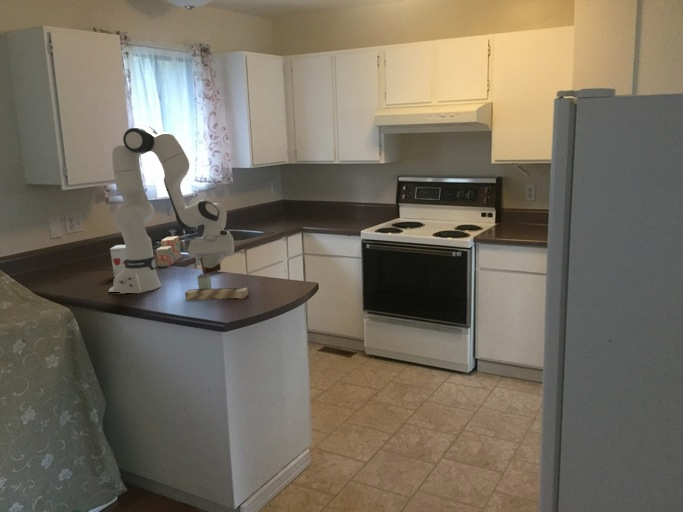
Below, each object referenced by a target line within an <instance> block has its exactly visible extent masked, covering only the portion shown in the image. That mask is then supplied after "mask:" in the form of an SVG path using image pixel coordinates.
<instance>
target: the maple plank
mask: <svg viewBox="0 0 683 512" xmlns="http://www.w3.org/2000/svg"><path fill="white" fill-rule="evenodd" d="M184 295H185V298H184V299H185V301H188V300H189V301H192V300H195V299H199V300H226V299H225V298H238V299H245V298H246V297H247V296H248V295H249V291H248V287H230V288H229V287H228V288H227V287H225V288H212V289H199V288H193V289H191V288H190V289H188V290H186V291H185V292H184ZM223 298H224V299H223ZM195 301H196V300H195Z"/></svg>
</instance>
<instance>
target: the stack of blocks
mask: <svg viewBox="0 0 683 512" xmlns="http://www.w3.org/2000/svg"><path fill="white" fill-rule="evenodd" d="M160 244H161V246H160V247H158V248H156V252H155V253H156V261H157V267H158V266H161V267H170V266H172V265H173V264H174V263H176V262H177V261H178V260H180V259H181V258H182V252H181V243H180V236H179V235H176V236H175V235H173V236H172V235H171V236H167V237H165V238H163V239H161V241H160Z"/></svg>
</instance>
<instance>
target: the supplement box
mask: <svg viewBox="0 0 683 512" xmlns="http://www.w3.org/2000/svg"><path fill="white" fill-rule="evenodd" d="M109 251H110V256H111V264H112V270H113V271H112V272H113V278H114V277H115V276H116V275H117V274H118V273H119V272H120V271H121V270H123V269H124V268H125V264H123V261H125V260H126V259H127V253H126V247H125V244H117V245H116V244H115V245H114V246H113V247H111V248H109Z"/></svg>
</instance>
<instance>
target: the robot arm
mask: <svg viewBox="0 0 683 512" xmlns="http://www.w3.org/2000/svg"><path fill="white" fill-rule="evenodd" d="M122 140H123V141H122V142H123V143H120V144H118V145H116V146H114V147H113V149H112V159H111V160H112V169H113V176H114V182H115V188H116V190H117V192H118V193H119V194H120V196H121V198H122V200H123V202H124V203H123V204H121V205H120V206H119V207H118V208H117V209H115V210H114V212H113V215H112V220H113V223H114V225H115V226H116V227H117V228H118V230H119V231H120V233H121V236H122V239H123V242H124V245H125V247H126V253H127V259H126V260H125V261H123V264H125V268H124V269H123V270H121V271H120V272H119V273H118V274H117V275H116V276H115V278H114V277H113V283H112V285H113V286H111V287H110V288H109V289H108V293H109V292H120V293H119V294H125V293H134V294H135V293H137V294H140V293H145V292H149V291H153V290H157V289H160V288H161V287H162V283H161V282H160V279H159V276H158V273H157V269H156V268H157V267H156V266H157V265H156V259H155V255H154V252H153V251H154V250H153V245H152V244H153V243H152V239H151V237H150V236H149V235H148V233H147V230H146V228H145V224H147V223H149V222H150V221H151V220H152V219H153V218H154V215H155V207H154V206H153V204H152V203H151V202H150V200H149V198H148V195H147V192H146V190H145V186H144V182H143V176H142V171H141V165H140V157H141V155H144V154H146V153H149V152H152V153H154V154H155V156H157V159H158V161H159V163H160V165H161V167H162V170H163V174H164V176H163V183H164V186H165V189H166V192H167V195H168V197H169V200H170V203H171V206H172V208H173V211H174V213H175V219H176V222H177V224H178V225H179V227H180V228H181V229H183V230H185V231H192V230H194V229H196V228H197V227H198V226H201V225H203V226H204V229H203V234H202V237H200V236H199V237H194V238H192V239H190V241H189V244H188V248H187V254H188V256H189V257H190V258H195V264H196V266H201V261H200V259H199V257H208V256H220V258H219V259H217V263H218V264H220V265H222V262H223V261H224V259H225V258H226V256H227V257H228V256H233V255H234V253H235V243H234V241H235V240H234V237H233V235H232V234H231V231H229V230H225V228H226V224H227V219H228V218H227V214H228V213H227V209H226V207H225V206H224V205H223V204H221V203H218V202H214V203H212V202H211V201H209V200H206V199H201V200H198V201H196V202H194V203H193V204H190V205H187V203H186V201H185V200H186V199H185V198H184V195H183V193H182V190H181V189H182V188H181V185H182V182H183V180H184V179H185V177H186V175H188V172H189V170H190V161H189V159H188V156H187V154H186V153H185V150H184V148H183V147H182V146H181V144H180V142H179V140H178V139H176V137H175V136H174V135H173V134H172V132H171V133H170V132H162V133H159V134H158V133H157V131H156V130H155V129H154V128H152V127H150V126H145V125H137V126H133V127H130V128H128V129H127V130H126V131H125V132H124V134H123V138H122ZM134 294H133V295H134ZM135 295H136V294H135Z"/></svg>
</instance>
